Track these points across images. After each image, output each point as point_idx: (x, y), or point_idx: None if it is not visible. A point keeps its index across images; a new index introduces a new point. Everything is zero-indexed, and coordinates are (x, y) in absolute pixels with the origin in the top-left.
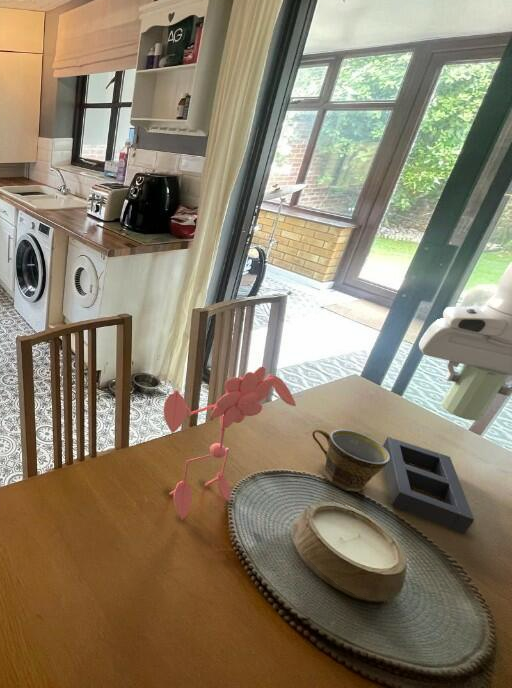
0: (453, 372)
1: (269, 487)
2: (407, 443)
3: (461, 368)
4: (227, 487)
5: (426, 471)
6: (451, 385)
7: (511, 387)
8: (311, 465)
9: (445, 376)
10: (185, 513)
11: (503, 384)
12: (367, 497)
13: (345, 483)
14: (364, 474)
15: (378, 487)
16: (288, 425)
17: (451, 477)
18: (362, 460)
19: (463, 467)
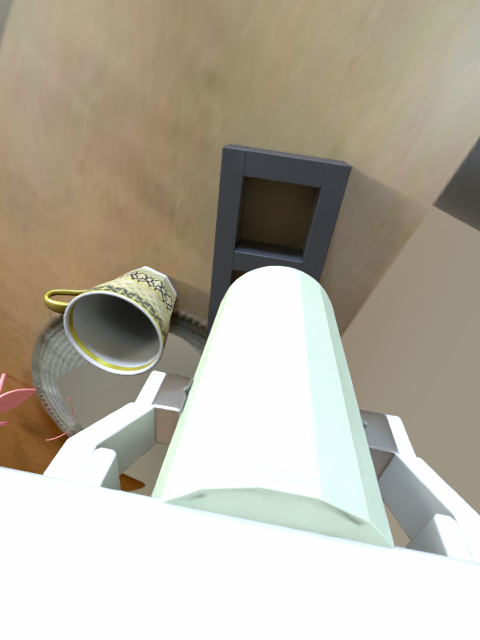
0: (139, 450)
1: (65, 348)
2: (264, 155)
3: (169, 446)
4: (16, 394)
5: (269, 259)
6: (201, 357)
7: (381, 496)
8: (105, 276)
9: (152, 374)
10: (6, 423)
11: (372, 460)
12: (183, 315)
13: (144, 323)
14: (146, 348)
15: (202, 285)
16: (43, 153)
17: (313, 256)
18: (119, 374)
19: (409, 118)
